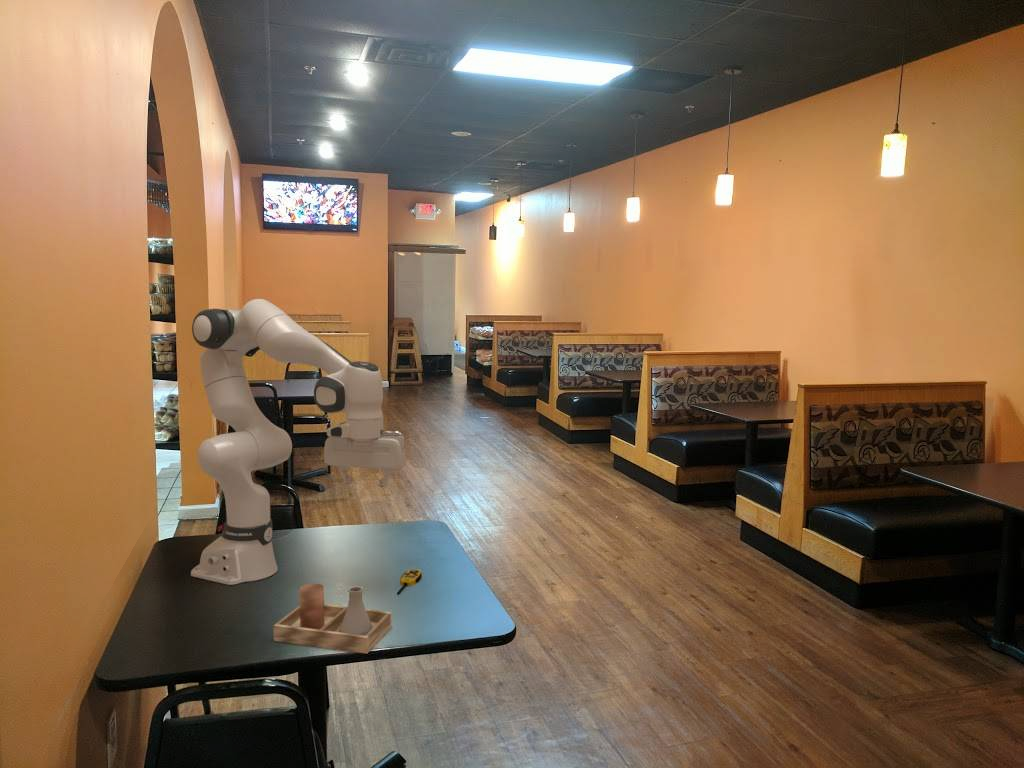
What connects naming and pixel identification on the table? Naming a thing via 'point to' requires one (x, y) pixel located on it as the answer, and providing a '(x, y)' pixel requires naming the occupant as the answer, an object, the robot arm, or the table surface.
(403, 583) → the yellow walkie talkie
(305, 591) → the condiment caddy
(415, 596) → the table surface
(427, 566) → the table surface
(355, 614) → the flask
